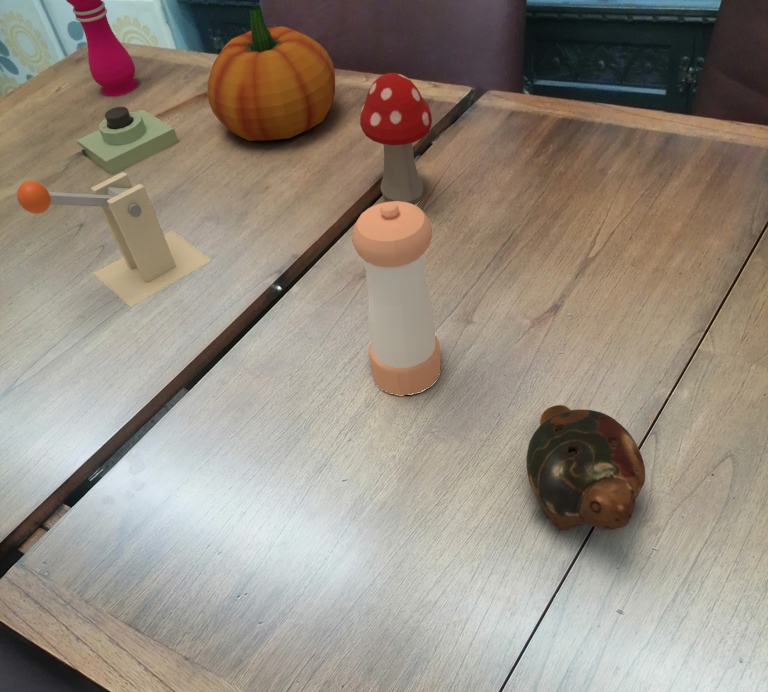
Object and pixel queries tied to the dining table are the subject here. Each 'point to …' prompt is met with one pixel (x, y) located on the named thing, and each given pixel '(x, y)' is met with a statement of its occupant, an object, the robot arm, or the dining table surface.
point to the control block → (127, 142)
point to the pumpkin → (271, 82)
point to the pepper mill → (104, 49)
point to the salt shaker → (398, 296)
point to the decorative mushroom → (397, 133)
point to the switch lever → (59, 197)
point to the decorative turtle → (584, 469)
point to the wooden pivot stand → (142, 245)
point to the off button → (118, 118)
